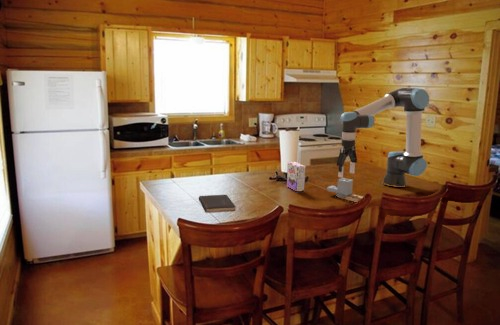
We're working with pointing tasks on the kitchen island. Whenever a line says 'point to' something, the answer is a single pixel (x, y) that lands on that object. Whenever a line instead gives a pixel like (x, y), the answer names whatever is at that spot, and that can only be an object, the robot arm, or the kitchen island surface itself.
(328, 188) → the grey l-shaped block
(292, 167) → the candy box
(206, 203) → the hardcover book
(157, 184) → the kitchen island surface
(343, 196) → the gray block on stand
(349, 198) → the frame leaf
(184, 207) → the kitchen island surface
